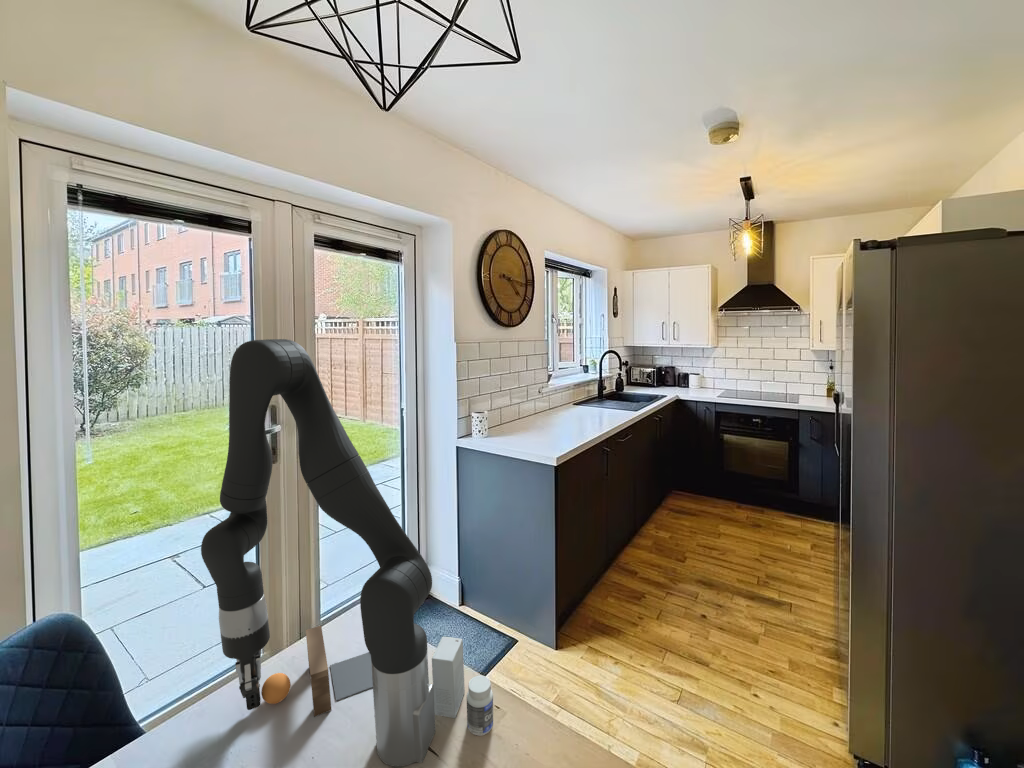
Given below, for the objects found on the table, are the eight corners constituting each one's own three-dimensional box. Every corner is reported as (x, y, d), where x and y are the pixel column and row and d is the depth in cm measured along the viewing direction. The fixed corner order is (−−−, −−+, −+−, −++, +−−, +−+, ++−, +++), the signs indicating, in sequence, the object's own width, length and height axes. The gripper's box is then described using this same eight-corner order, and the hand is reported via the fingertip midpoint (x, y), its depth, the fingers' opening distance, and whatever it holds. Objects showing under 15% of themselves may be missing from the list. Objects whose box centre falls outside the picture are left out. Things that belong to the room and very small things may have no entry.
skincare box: (444, 689, 91) (442, 635, 89) (465, 692, 90) (463, 638, 88) (433, 715, 85) (430, 658, 83) (455, 719, 84) (453, 661, 82)
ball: (252, 705, 86) (277, 708, 89) (265, 697, 84) (291, 701, 87) (261, 675, 90) (285, 679, 93) (274, 667, 88) (298, 672, 91)
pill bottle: (489, 738, 80) (489, 696, 79) (464, 734, 81) (462, 692, 80) (496, 715, 85) (495, 675, 84) (471, 711, 86) (470, 671, 85)
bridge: (314, 716, 85) (310, 675, 84) (309, 667, 97) (305, 630, 96) (331, 710, 86) (328, 669, 85) (324, 662, 98) (321, 625, 97)
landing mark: (336, 701, 88) (335, 700, 88) (330, 666, 97) (330, 665, 97) (388, 681, 93) (388, 680, 93) (378, 649, 102) (378, 649, 102)
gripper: (268, 637, 79) (277, 724, 82) (267, 596, 91) (275, 673, 94) (216, 652, 76) (228, 743, 78) (222, 607, 87) (232, 688, 90)
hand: (254, 705), depth 86 cm, fingers closed
